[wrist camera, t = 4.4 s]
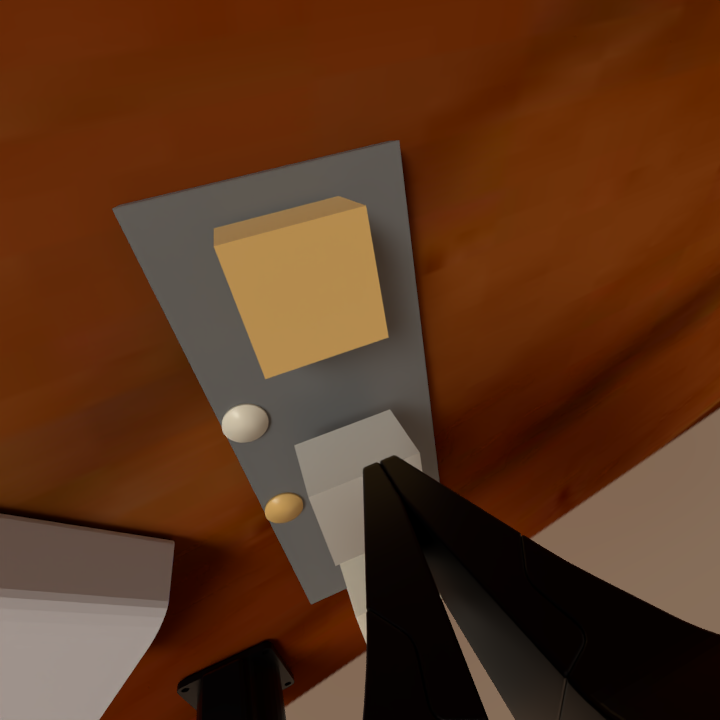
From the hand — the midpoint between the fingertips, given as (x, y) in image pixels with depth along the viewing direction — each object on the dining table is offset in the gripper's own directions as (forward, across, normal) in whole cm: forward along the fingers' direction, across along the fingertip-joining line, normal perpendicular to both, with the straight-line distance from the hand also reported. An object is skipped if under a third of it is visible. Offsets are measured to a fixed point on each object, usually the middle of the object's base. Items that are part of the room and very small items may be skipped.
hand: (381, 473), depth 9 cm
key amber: (+8, 0, -3) cm, 9 cm away
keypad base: (+10, 0, +6) cm, 12 cm away
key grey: (+7, 0, +6) cm, 9 cm away
